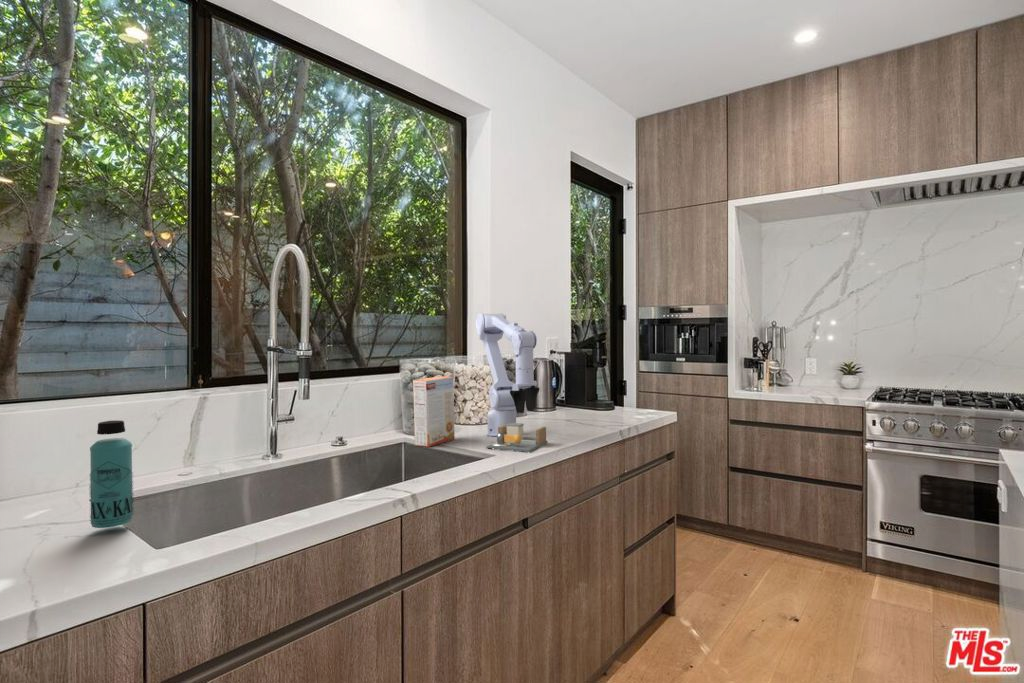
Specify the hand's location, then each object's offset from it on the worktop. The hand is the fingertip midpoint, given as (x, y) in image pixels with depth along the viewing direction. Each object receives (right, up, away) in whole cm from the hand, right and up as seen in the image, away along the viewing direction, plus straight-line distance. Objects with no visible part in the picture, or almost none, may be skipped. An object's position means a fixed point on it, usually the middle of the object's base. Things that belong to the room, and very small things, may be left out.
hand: (525, 411), depth 178 cm
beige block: (-3, -9, -2) cm, 10 cm away
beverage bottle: (-77, -12, -77) cm, 109 cm away
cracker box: (-29, -10, +1) cm, 31 cm away
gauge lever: (-4, -8, -10) cm, 13 cm away
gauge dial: (-8, -10, -7) cm, 15 cm away
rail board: (-2, -10, -6) cm, 12 cm away
